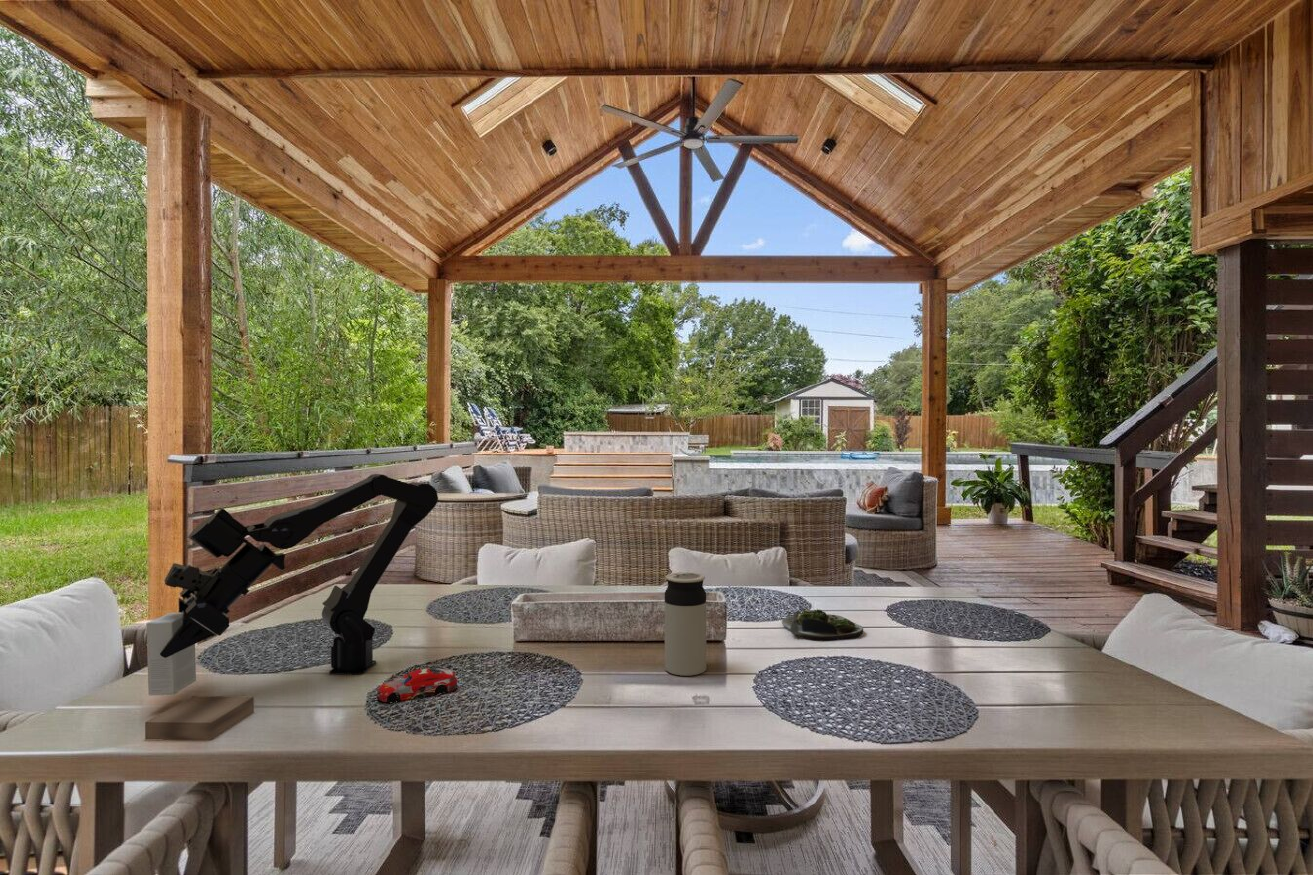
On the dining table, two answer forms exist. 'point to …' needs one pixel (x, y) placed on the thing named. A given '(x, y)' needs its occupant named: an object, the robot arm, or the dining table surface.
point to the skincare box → (168, 658)
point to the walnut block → (199, 718)
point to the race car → (418, 685)
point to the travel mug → (685, 624)
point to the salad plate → (821, 626)
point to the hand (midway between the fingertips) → (161, 650)
